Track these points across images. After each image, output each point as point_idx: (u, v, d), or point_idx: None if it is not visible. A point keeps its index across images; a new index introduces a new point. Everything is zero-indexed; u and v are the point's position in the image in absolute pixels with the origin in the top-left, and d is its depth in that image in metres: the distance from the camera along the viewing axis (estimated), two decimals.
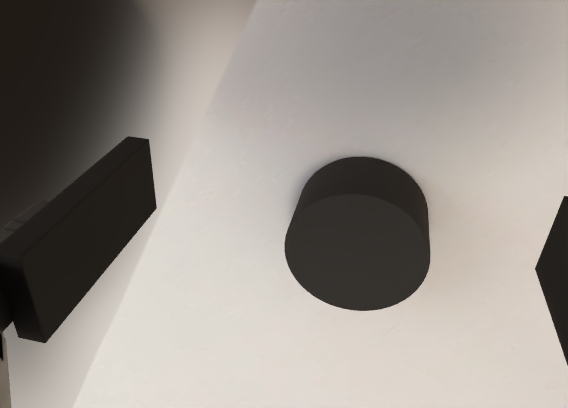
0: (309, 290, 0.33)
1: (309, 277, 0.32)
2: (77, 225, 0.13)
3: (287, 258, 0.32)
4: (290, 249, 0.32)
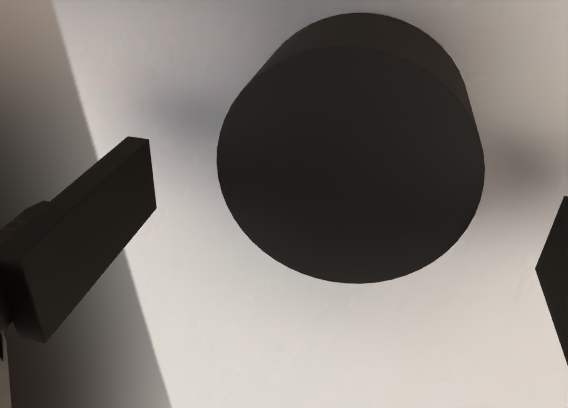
0: (318, 275, 0.19)
1: (303, 254, 0.19)
2: (77, 225, 0.13)
3: (254, 240, 0.19)
4: (247, 223, 0.19)
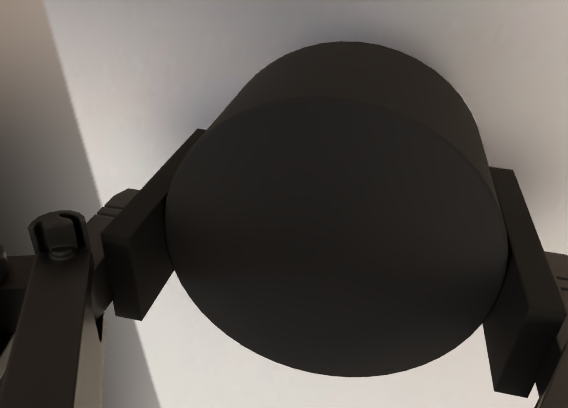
0: (296, 365, 0.15)
1: (277, 341, 0.15)
2: None
3: (215, 323, 0.15)
4: (206, 304, 0.15)
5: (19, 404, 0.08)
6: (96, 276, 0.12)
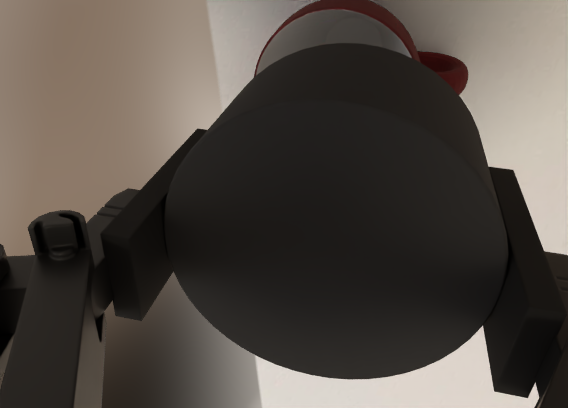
0: (296, 368, 0.15)
1: (277, 343, 0.15)
2: None
3: (215, 326, 0.15)
4: (205, 306, 0.15)
5: (19, 404, 0.08)
6: (96, 276, 0.12)
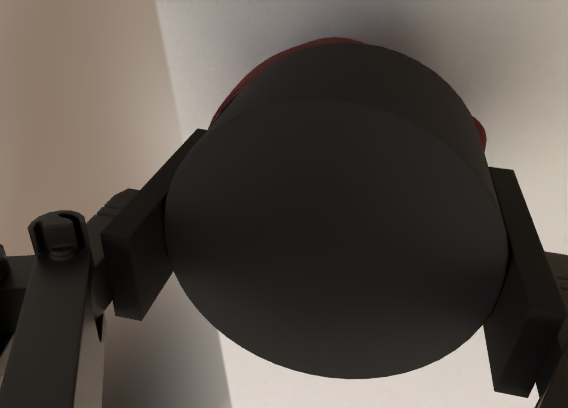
0: (296, 367, 0.15)
1: (277, 343, 0.15)
2: None
3: (215, 325, 0.15)
4: (205, 306, 0.15)
5: (19, 404, 0.08)
6: (96, 276, 0.12)
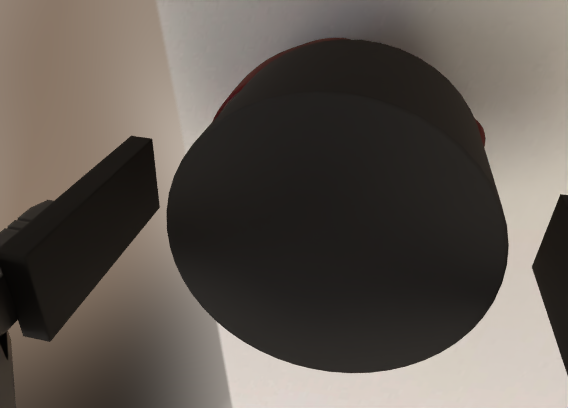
0: (297, 362, 0.15)
1: (278, 337, 0.15)
2: (81, 224, 0.13)
3: (217, 320, 0.15)
4: (207, 300, 0.15)
5: None
6: None
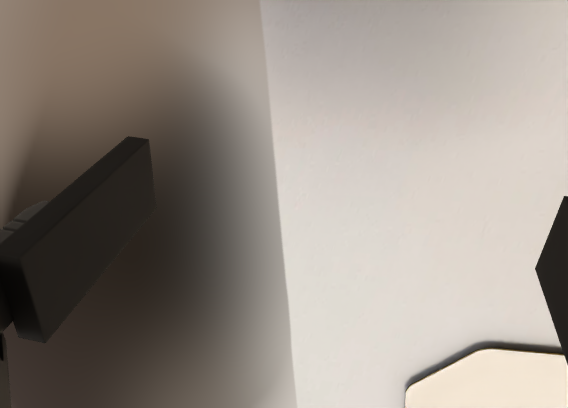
0: None
1: None
2: (77, 225, 0.13)
3: None
4: None
5: None
6: None
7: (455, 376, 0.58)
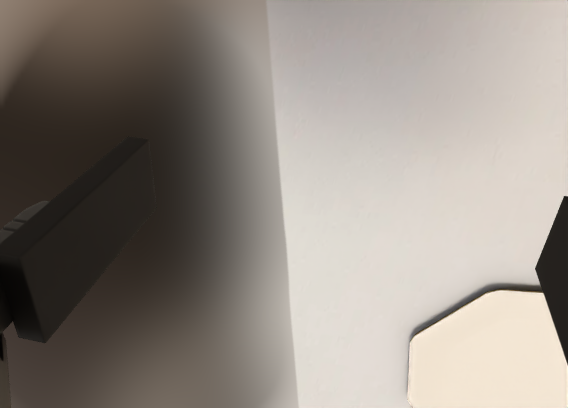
0: None
1: None
2: (77, 225, 0.13)
3: None
4: None
5: None
6: None
7: (463, 323, 0.55)
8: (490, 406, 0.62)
